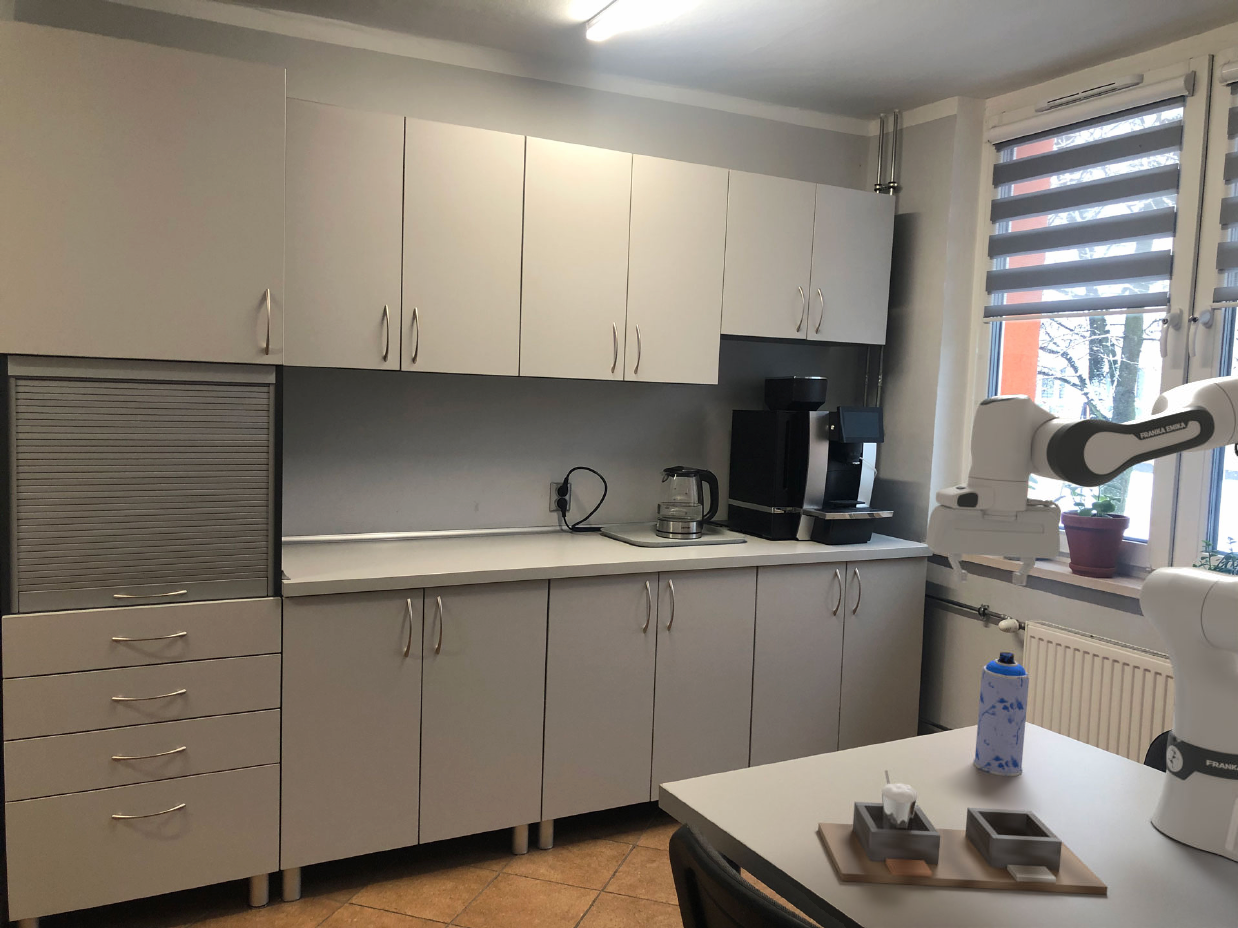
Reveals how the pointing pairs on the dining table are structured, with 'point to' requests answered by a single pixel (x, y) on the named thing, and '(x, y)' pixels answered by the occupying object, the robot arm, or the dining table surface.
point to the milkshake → (898, 805)
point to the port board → (958, 852)
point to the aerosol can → (1002, 717)
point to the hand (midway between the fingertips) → (989, 583)
